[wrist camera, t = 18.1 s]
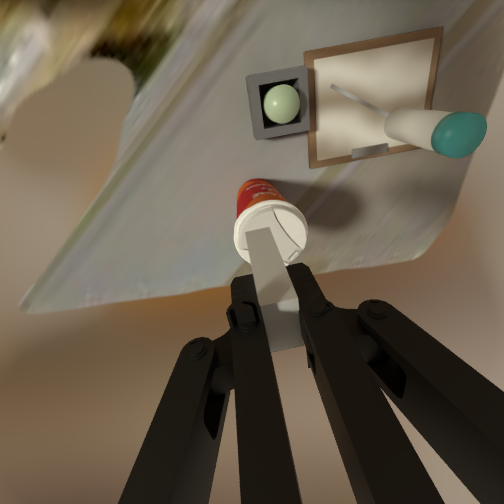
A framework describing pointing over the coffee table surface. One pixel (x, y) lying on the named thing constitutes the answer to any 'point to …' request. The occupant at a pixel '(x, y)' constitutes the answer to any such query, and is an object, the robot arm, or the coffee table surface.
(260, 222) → the coffee cup
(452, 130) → the marker
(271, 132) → the button housing
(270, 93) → the button
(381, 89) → the drawing board
